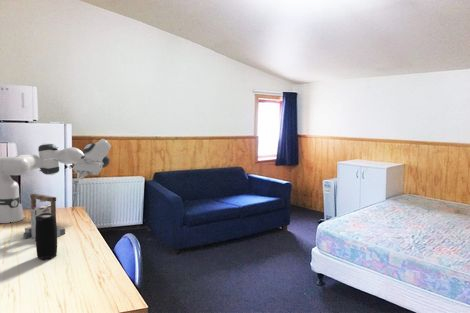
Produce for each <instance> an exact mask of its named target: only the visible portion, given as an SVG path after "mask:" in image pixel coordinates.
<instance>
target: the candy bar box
mask: <svg viewBox="0 0 470 313" xmlns="http://www.w3.org/2000/svg"><path fill="white" fill-rule="evenodd" d="M29 209H30V225H31V226H30V227H31V231H32V238H31V239H32V240H35V236H36V232H35V227H36V216H38V215H40V214H42V213H51V203H50V204H44V205H40V206H39V205H38V206H36V207H34V208H31V207H30V208H29Z"/></svg>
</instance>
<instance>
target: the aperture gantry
mask: <svg viewBox="0 0 470 313" xmlns="http://www.w3.org/2000/svg"><path fill="white" fill-rule="evenodd" d="M29 195H30V196H29V197H30V203H31V205H30V208H34V207H37V200H39V202H40V203H44V202H48V203H49V202H50V204H51V214H56V215H57V213H56V210H57V209H56V207H57V206H56V204H57V203H56V202H57V197H56V196H52V195H51V196H50V195H45V194H39V193H30V194H29Z"/></svg>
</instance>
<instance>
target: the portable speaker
mask: <svg viewBox="0 0 470 313" xmlns="http://www.w3.org/2000/svg"><path fill="white" fill-rule="evenodd" d="M57 227H58V225H57V213H56V214H51V213H42V214H40V215H38V216H36V227H35V232H36V242H35V248H36V256H37V258H38V259H40V261H48V260H51V259H52V258H53V257H57V254H58V237H57Z"/></svg>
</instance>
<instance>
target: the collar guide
mask: <svg viewBox="0 0 470 313" xmlns="http://www.w3.org/2000/svg"><path fill="white" fill-rule="evenodd" d="M64 235H66V228H63V227H62V228H61V227H60V226H57V238H59V237H61V236H64ZM23 239H24V240H27V239H32V231H31V226H27V227H24V232H23ZM34 242H35V243H36V236H35V239H34Z"/></svg>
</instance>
